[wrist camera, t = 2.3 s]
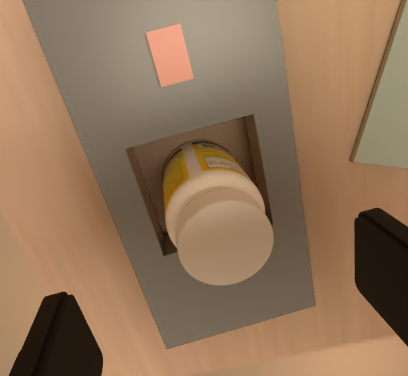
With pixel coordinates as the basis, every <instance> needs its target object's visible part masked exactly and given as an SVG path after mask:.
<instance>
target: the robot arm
mask: <svg viewBox="0 0 408 376" xmlns="http://www.w3.org/2000/svg"><path fill="white" fill-rule="evenodd" d="M354 226H355V284H356V286H357V288H358V290H359V292H360V293H361V294H362V295H363V296H364V297H365V298H366V300H367V301H368V302H369V303H370V304H371V305H372V306H373V308H374V309H375V310H376V311H377V312H378V313H379V314H380V316H381V317H382V318H383V319H384V320H385V321H386V322H387V323H388V325H389V326H390V327H391V328H392V329H393V330H394V331H395V333H396V334H397V335H398V336H399V337H400V338H401V339H402V340H403V341H404V343H405V344H406V345H407V346H408V227H407V226H406V225H404V224H403V223H401V222H400V221H398V220H397V219H395V218H394V217H392V216H391V215H389V214H388V213H386V212H385V211H383V210H382V209H380V208H374V209H370V210H367V211H363V212H360V213H359V215H358V218H356V219H355V222H354ZM102 368H103V356H102V353H101V350H100V348H99V346H98V344H97V342H96V340H95V338H94V336H93V334H92V332H91V330H90V328H89V326H88V324H87V322H86V320H85V318H84V316H83V313H82V311H81V309H80V307H79V305H78V303H77V301H76V299H75V297H74V296H73V295H68V294H67V293H66V292H60V293H57V294H53V295H49V296H46V297H44V299H43V301H42V303H41V305H40V308H39V310H38V312H37V315H36V317H35V319H34V322H33V324H32V326H31V329H30V331H29V333H28V336H27V338H26V340H25V342H24V345H23V347H22V350H21V351H20V352H19V354H18V356H17V358H16V360H15V362H14V365H13V367H12V369H11V372H10V374H9V376H101V374H102Z"/></svg>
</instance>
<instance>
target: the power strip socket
mask: <svg viewBox="0 0 408 376" xmlns="http://www.w3.org/2000/svg"><path fill="white" fill-rule="evenodd" d="M22 1H23V3H24V6H25V8H26V11H27V13H28V15H29V18H30V20H31V23H32V25H33V27H34V30H35V32H36V35H37V37H38V40H39V42H40V44H41V47H42V49H43V52H44V54H45V56H46V59H47V61H48V64H49V66H50V69H51V71H52V73H53V76H54V78H55V81H56V83H57V85H58V88H59V90H60V93H61V95H62V98H63V100H64V102H65V105H66V107H67V110H68V112H69V114H70V117H71V119H72V122H73V124H74V127H75V129H76V131H77V134H78V136H79V139H80V141H81V143H82V146H83V148H84V151H85V153H86V156H87V158H88V160H89V163H90V165H91V168H92V170H93V172H94V175H95V177H96V180H97V182H98V185H99V187H100V189H101V192H102V194H103V197H104V199H105V201H106V204H107V206H108V209H109V211H110V214H111V216H112V218H113V221H114V223H115V226H116V228H117V230H118V233H119V235H120V238H121V240H122V243H123V245H124V247H125V250H126V252H127V255H128V257H129V260H130V262H131V264H132V267H133V269H134V272H135V274H136V276H137V279H138V281H139V284H140V286H141V289H142V291H143V293H144V296H145V298H146V301H147V303H148V305H149V308H150V310H151V313H152V315H153V318H154V320H155V322H156V325H157V327H158V330H159V332H160V334H161V337H162V339H163V342H164V344H165V347H166V349H170V348H173V347H176V346H180V345H183V344H187V343H190V342H193V341H197V340H200V339H204V338H207V337H210V336H214V335H217V334H221V333H224V332H227V331H231V330H234V329H238V328H241V327H244V326H248V325H251V324H255V323H258V322H262V321H265V320H268V319H272V318H275V317H279V316H282V315H285V314H289V313H292V312H296V311H299V310H302V309H306V308H309V307H313V306H316V303H315V295H314V288H313V280H312V272H311V264H310V256H309V248H308V241H307V233H306V225H305V217H304V209H303V202H302V194H301V186H300V178H299V170H298V162H297V155H296V147H295V139H294V131H293V123H292V115H291V108H290V100H289V92H288V84H287V76H286V69H285V61H284V53H283V45H282V37H281V29H280V22H279V14H278V6H277V0H22ZM241 117H244V118H245V124H246V129H247V134H248V139H249V145H250V150H251V155H252V161H253V166H254V171H255V177H256V182H257V187H258V190H259V192H260V194H261V196H262V199H263V202H264V206H265V215H266V216H267V218H268V220H269V221H270V224H271V226H272V230H273V238H274V240H273V247H272V251H271V254H270V256H269V258H268V259H267V261H266V262H265V264H264V265H263V266H262V267H261V269H260V270H259V271H257V272H256V273H255V274H254V275H252V276H251V277H249V278H247V279H245V280H243V281H241V282H238V283H235V284H231V285H211V284H207V283H203V282H201V281H199V280H197V279H195V278H194V277H192V276H191V275H190V274H189V273H188V272H187V271H186V270H185V269H184V267H183V265H182V264H181V262H180V259H179V256H178V251H177V247H176V246H175V245H174V244H173V242H172V241H171V239H170V237H169V234H165V235H163V234H162V231H161V228H160V225H159V222H158V219H157V216H156V214H155V211H154V208H153V205H152V202H151V199H150V196H149V193H148V190H147V188H146V185H145V182H144V179H143V176H142V173H141V170H140V167H139V165H138V162H137V159H136V156H135V153H134V150H133V147H135V146H138V145H142V144H146V143H149V142H153V141H156V140H160V139H164V138H167V137H171V136H175V135H178V134H182V133H186V132H189V131H193V130H197V129H200V128H204V127H208V126H211V125H215V124H219V123H222V122H226V121H230V120H233V119H237V118H241Z"/></svg>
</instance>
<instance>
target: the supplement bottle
mask: <svg viewBox="0 0 408 376" xmlns="http://www.w3.org/2000/svg"><path fill="white" fill-rule="evenodd" d="M163 194H164V208H165V222H166V228H167V231H168V234H169V237H170V239H171V241H172V242H173V244H174V245H175V246H176V247H177V251H178V256H179V259H180V262H181V264H182V265H183V267H184V269H185V270H186V271H187V272H188V273H189V274H190V275H191V276H192V277H194V278H195V279H197V280H199V281H201V282H203V283H207V284H211V285H231V284H235V283H238V282H241V281H243V280H245V279H247V278H249V277H251V276H252V275H254V274H255V273H256V272H257V271H259V270H260V269H261V267H262V266H263V265H264V264H265V262H266V261H267V259H268V258H269V256H270V254H271V251H272V247H273V240H274V238H273V230H272V226H271V224H270V221H269V220H268V218H267V216H266V215H265V206H264V202H263V199H262V196H261V194H260V192H259V190H258V189H257V187H256V186H255V185H254V183H253V182H252V181H251V180H250V178H249V177H248V176H247V174H246V173H245V172H244V171H243V169H242V168H241V167H240V165H239V164H238V163H237V162H236V160H235V159H234V158H233V157H232V155H231V154H230V153H229V152H228V151H227V150H226V149H225V148H224V147H222V146H221V145H219V144H217V143H215V142H211V141H206V140H197V141H192V142H188V143H186V144H184V145H182V146H181V147H179V148H178V149H176V150H175V151H174V152H173V153H172V154H171V155H170V157H169V158H168V160H167V161H166V164H165V166H164V170H163Z"/></svg>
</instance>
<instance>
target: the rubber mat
mask: <svg viewBox="0 0 408 376" xmlns="http://www.w3.org/2000/svg"><path fill="white" fill-rule="evenodd" d="M350 161H352V162H355V163H364V164H373V165H383V166H392V167H401V168H408V0H402V2H401V5H400V8H399V11H398V14H397V17H396V20H395V23H394V27H393V30H392V33H391V36H390V39H389V42H388V45H387V48H386V51H385V54H384V57H383V61H382V64H381V67H380V70H379V73H378V76H377V79H376V82H375V85H374V88H373V91H372V94H371V98H370V101H369V104H368V107H367V110H366V113H365V116H364V119H363V122H362V125H361V128H360V132H359V135H358V138H357V141H356V144H355V147H354V150H353V153H352V156H351V159H350Z"/></svg>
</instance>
